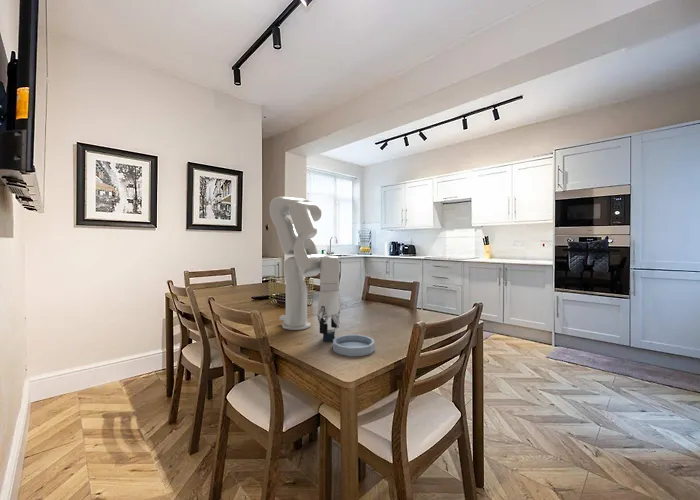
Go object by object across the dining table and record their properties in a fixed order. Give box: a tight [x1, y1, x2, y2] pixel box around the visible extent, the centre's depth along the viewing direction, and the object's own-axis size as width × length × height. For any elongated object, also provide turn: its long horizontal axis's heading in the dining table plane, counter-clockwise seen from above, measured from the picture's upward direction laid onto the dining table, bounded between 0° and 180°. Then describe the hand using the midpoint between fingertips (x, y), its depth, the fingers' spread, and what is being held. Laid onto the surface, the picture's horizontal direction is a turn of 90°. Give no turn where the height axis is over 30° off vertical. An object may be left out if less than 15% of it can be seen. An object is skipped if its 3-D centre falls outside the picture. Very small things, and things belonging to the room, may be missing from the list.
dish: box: [332, 334, 376, 357], centre depth 119 cm, size 15×15×3 cm
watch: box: [318, 314, 340, 343], centre depth 129 cm, size 6×8×11 cm
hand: (329, 330), depth 129 cm, fingers open, 8 cm apart
